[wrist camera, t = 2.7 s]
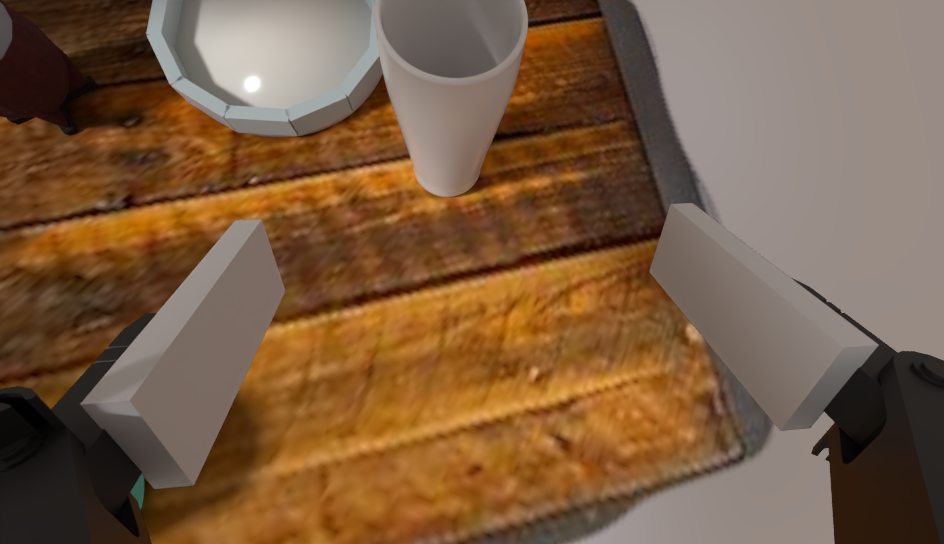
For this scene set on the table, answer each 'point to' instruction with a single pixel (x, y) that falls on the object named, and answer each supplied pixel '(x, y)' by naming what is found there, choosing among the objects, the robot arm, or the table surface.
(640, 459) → the table surface
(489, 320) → the table surface
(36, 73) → the mate gourd
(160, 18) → the dish
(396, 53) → the drinking glass
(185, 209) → the table surface
